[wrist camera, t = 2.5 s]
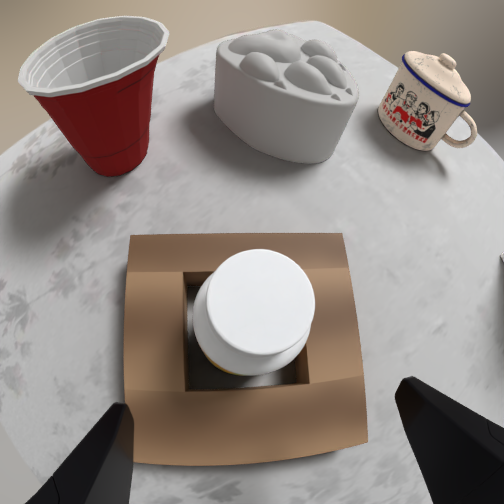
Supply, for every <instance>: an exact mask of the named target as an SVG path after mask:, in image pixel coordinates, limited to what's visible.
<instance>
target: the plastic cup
mask: <svg viewBox="0 0 504 504" xmlns="http://www.w3.org/2000/svg"><path fill="white" fill-rule="evenodd" d="M168 36H169V31H168V30H167V29H166V28H165V26H164V25H163V24H162V23H161V22H158V21H155V20H152V19H149V18H146V17H135V16H118V17H111V18H104V19H98V20H94V21H91V22H88V23H84V24H81V25H78V26H75V27H73V28H71V29H68V30H66V31H64V32H63V33H60V34H59V35H56V36H55V37H53V38H51V39H50V40H48V41H47V42H45V43H44V44H43V45H41V46H40V47H39V48H38V49H36V50H35V51H34V52H33V53H32V54H31V55H30V56H29V57H28V59H27V60H26V61H25V63H24V64H23V65H22V66H21V68H20V73H19V78H18V82H19V83H20V85H21V86H22V87H23V88H24V89H25V90H26V91H27V92H28V93H29V94H30V95H34V97H35V98H36V99H37V100H38V101H39V103H40V104H41V106H42V107H43V108H44V109H45V110H46V111H47V112H48V114H49V115H50V117H51V118H52V119H53V121H54V122H55V124H56V125H57V126H58V128H59V129H60V130H61V132H62V133H63V134H64V136H65V137H66V138H67V140H68V141H69V142H70V144H71V145H72V146H73V148H74V149H75V150H76V151H77V152H78V153H79V154H80V155H81V156H82V158H83V159H84V160H85V162H86V163H87V164H88V165H89V166H90V167H91V168H92V169H93V170H94V171H96V172H97V173H98V174H100V175H103V176H107V177H110V176H119V175H122V174H124V173H127V172H129V171H131V170H133V169H134V168H135V167H136V166H138V165H139V164H140V163H141V162H142V160H143V159H144V157H145V156H146V154H147V149H148V143H149V122H150V117H151V102H152V90H153V79H154V71H155V67H156V63H157V60H158V57H159V55H160V53H161V52H162V51H164V49H165V46H166V43H167V40H168Z"/></svg>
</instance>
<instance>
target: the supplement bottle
mask: <svg viewBox="0 0 504 504" xmlns="http://www.w3.org/2000/svg"><path fill="white" fill-rule="evenodd" d="M314 311H315V297H314V292H313V288H312V285H311V283H310V281H309V279H308V277H307V275H306V274H305V272H304V271H303V270H302V269H301V268H300V267H299V265H298V264H296V263H295V262H294V261H293V260H291V259H290V258H288V257H287V256H285V255H283V254H280V253H278V252H275V251H271V250H265V249H253V250H247V251H243V252H240V253H237V254H235V255H233V256H231V257H230V258H228V259H227V260H225V261H224V262H223V263H222V264H221V265H220V266H219V267H218V268H217V270H216V271H215V272H214V273H212V274H211V275H210V276H209V277H208V278H207V279H206V281H205V282H204V283H203V285H202V286H201V288H200V290H199V292H198V294H197V296H196V299H195V302H194V306H193V327H194V332H195V335H196V339H197V341H198V343H199V346H200V347H201V349H202V351H203V352H204V354H205V356H206V357H207V359H208V360H209V361H210V362H211V363H212V364H213V365H214V366H215V367H217V368H218V369H220V370H222V371H224V372H226V373H229V374H233V375H239V376H245V375H249V376H253V375H263V374H267V373H271V372H274V371H276V370H278V369H281V368H282V367H284V366H286V365H287V364H289V363H290V362H291V361H292V360H293V359H294V358H295V357H296V356H297V355H298V354H299V353H300V351H301V350H302V348H303V347H304V345H305V343H306V341H307V338H308V336H309V332H310V328H311V323H312V320H313V316H314Z"/></svg>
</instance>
